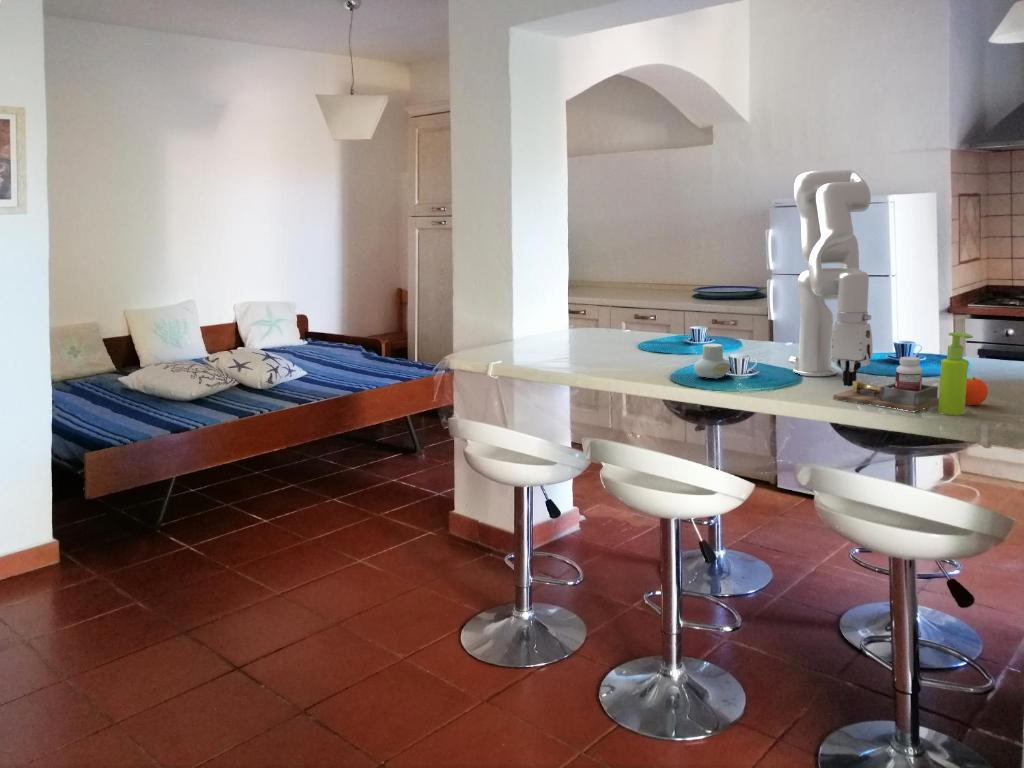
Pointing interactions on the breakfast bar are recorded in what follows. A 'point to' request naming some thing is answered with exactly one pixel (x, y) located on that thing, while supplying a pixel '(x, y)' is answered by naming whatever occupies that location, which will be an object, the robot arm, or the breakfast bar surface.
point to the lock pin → (864, 386)
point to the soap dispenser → (953, 378)
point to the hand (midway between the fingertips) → (849, 385)
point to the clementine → (975, 391)
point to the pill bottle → (909, 374)
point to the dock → (894, 397)
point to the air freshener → (712, 362)
